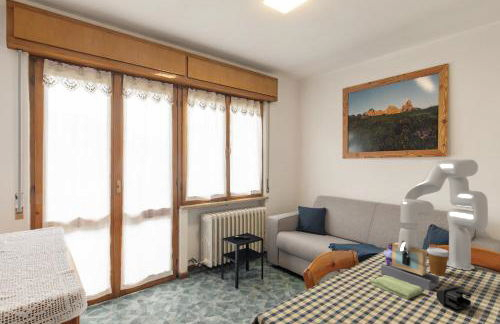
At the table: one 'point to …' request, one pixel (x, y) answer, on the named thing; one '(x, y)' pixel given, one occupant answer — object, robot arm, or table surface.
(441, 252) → the disposable coffee cup
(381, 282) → the washcloth
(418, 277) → the picture stand
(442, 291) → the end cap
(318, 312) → the table surface
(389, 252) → the potion bottle
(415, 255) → the wooden picture frame
